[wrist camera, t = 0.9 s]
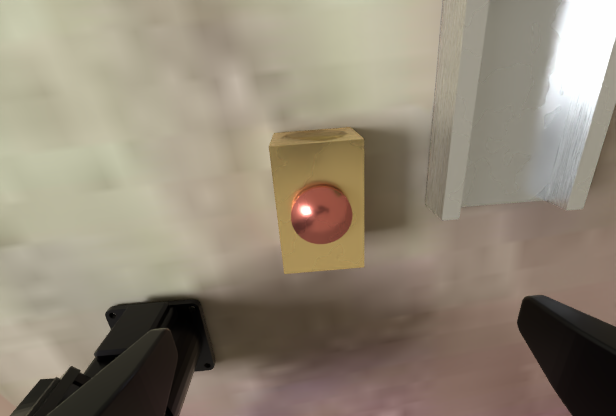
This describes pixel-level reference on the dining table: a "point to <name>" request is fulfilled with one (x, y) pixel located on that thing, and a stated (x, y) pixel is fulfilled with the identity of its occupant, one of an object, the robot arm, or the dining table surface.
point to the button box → (319, 198)
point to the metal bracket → (520, 102)
